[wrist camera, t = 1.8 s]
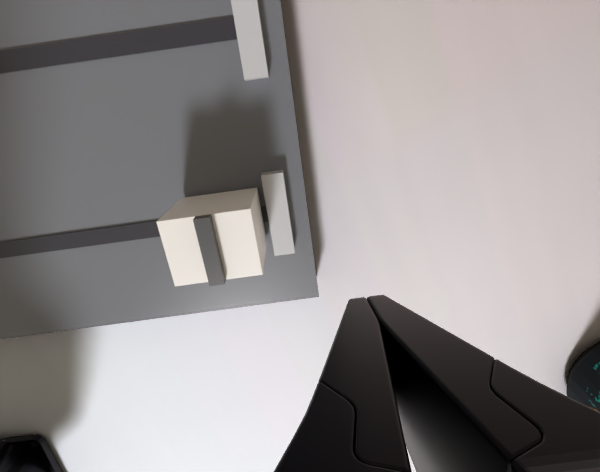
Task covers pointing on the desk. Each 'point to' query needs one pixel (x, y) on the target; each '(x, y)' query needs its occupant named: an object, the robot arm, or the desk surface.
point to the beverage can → (586, 379)
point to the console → (140, 155)
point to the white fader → (214, 237)
